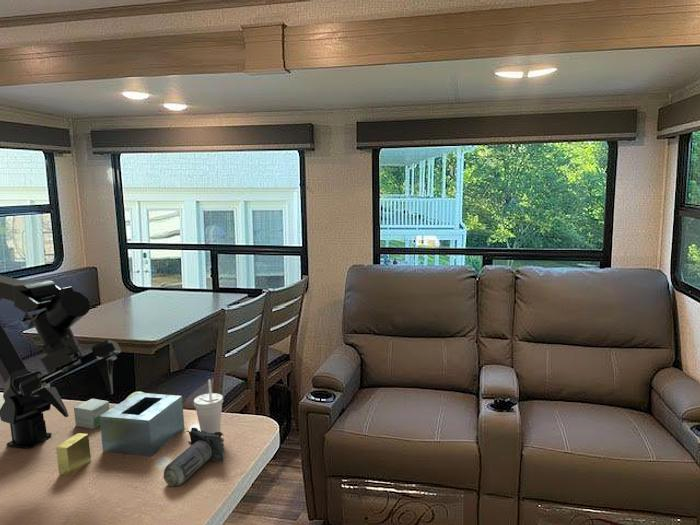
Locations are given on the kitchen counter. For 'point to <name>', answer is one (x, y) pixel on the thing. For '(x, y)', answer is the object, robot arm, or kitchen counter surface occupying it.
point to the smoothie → (209, 411)
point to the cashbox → (142, 424)
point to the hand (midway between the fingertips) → (89, 405)
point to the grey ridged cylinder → (195, 456)
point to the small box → (90, 413)
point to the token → (73, 454)
